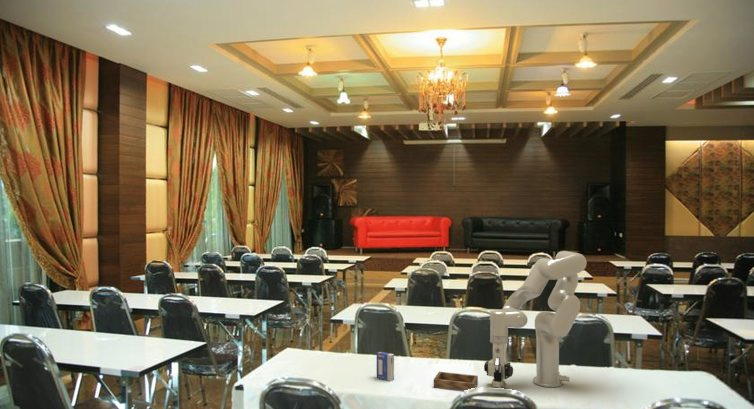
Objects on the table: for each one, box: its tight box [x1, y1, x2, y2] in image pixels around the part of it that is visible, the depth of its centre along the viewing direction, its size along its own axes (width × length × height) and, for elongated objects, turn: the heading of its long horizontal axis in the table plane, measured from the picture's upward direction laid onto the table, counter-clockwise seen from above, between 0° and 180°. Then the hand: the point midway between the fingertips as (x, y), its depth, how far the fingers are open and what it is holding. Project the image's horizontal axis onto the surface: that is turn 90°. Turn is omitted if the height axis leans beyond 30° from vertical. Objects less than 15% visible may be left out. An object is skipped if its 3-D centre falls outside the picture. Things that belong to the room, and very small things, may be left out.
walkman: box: [376, 351, 395, 382], centre depth 242 cm, size 8×3×12 cm, turn 57°
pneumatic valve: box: [483, 358, 514, 389], centre depth 233 cm, size 6×12×12 cm, turn 53°
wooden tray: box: [433, 371, 479, 392], centre depth 234 cm, size 17×11×4 cm, turn 71°
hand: (498, 377), depth 233 cm, fingers open, 9 cm apart
